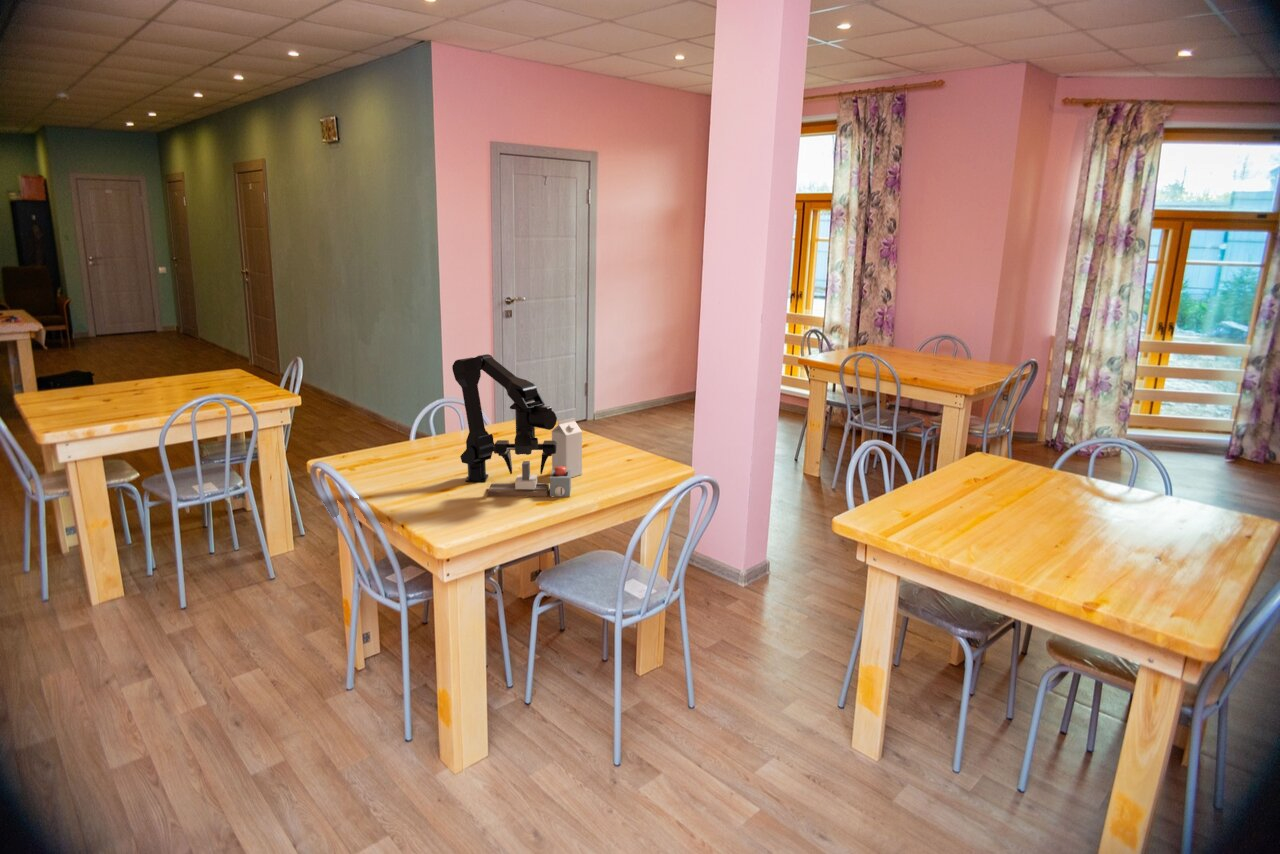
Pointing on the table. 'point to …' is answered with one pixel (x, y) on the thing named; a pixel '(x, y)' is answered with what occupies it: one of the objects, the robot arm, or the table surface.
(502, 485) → the rail
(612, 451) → the table surface
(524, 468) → the carriage
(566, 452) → the milk carton
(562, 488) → the end cabinet
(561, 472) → the button
